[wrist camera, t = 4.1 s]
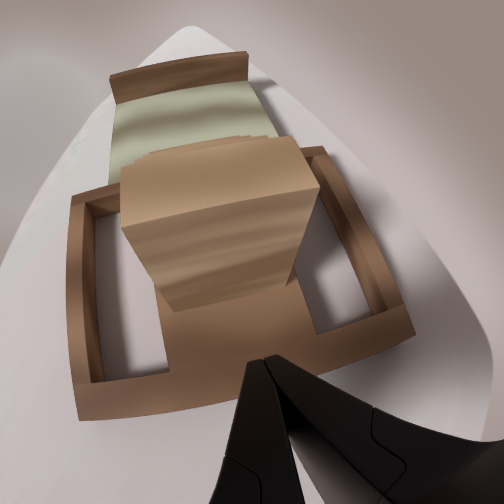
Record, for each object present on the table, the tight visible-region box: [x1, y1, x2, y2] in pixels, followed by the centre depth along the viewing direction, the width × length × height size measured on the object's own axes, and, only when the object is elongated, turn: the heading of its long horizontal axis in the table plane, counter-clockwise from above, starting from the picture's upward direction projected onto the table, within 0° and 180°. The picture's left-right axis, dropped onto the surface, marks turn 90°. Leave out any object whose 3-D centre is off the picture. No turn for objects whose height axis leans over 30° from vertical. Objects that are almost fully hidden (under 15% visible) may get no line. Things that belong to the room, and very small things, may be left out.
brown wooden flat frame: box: [66, 51, 416, 421], centre depth 19 cm, size 27×19×5 cm
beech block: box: [120, 135, 320, 312], centre depth 14 cm, size 10×6×8 cm, turn 15°
